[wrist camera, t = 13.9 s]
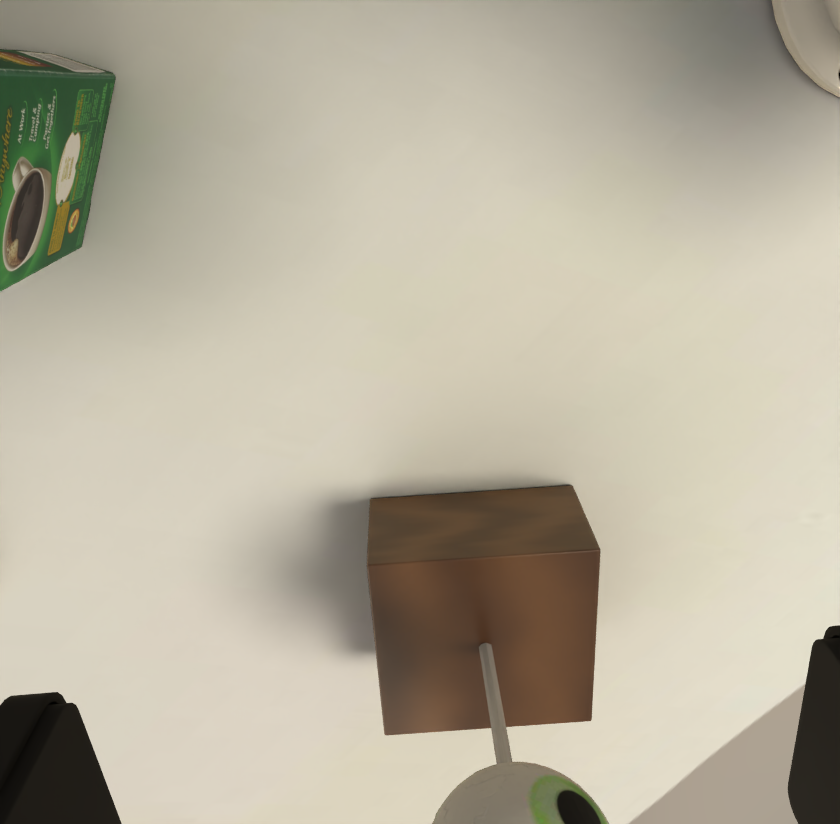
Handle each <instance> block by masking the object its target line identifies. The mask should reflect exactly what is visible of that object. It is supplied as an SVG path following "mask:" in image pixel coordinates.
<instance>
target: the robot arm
mask: <svg viewBox="0 0 840 824" xmlns="http://www.w3.org/2000/svg"><path fill="white" fill-rule="evenodd" d="M772 5H773V10H774V16H775V21H776V23H777V26H778V28H779V31H780V33H781V36H782V38H783V41H784V43H785V46H786V48H787V49H788V51H789V52H790V54H791V55H792V57H793V58H794V60H795V61H796V63H797V64H798V66H799V67H800V69H801V70H802V71H803V72H804V73H805V74H807V75H808V76H809V77H810V78H811V79H812V80H813V81H814V82H815V83H816V84H817V85H819V86H820V87H821V88H823V89H825V90H827V91H828V92H830V93H832V94H834V95H836V96H838V97H839V98H840V77H839V75H838V73H839V70H840V0H772ZM788 795H789V800H790V804H791V807H792V810H793V813H794V815H795V818H796V819H797V822H798V824H840V626H831V627H829V628H828V629H827V630H826V632H825V635H824V638H823V639H819V640H816V641H815V642H814V643H813V646H812V651H811V656H810V662H809V668H808V674H807V679H806V685H805V691H804V696H803V702H802V708H801V713H800V719H799V725H798V731H797V736H796V742H795V748H794V753H793V760H792V765H791V771H790V776H789V782H788ZM0 824H121V821H120V818H119V816H118V813H117V810H116V808H115V805H114V802H113V800H112V797H111V795H110V792H109V789H108V787H107V784H106V781H105V779H104V776H103V773H102V771H101V768H100V765H99V763H98V760H97V757H96V755H95V752H94V750H93V747H92V744H91V742H90V739H89V736H88V734H87V731H86V728H85V726H84V723H83V720H82V718H81V715H80V713H79V710H78V708H77V706H76V705H75V704H73V703H66V701H65V700H64V698H63V696H62V695H61V694H59V693H58V692H52V693H41V694H29V695H17V696H10V697H9V698H7V699H5V700H4V702H3V703H2V704H1V705H0Z"/></svg>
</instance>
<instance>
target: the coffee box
mask: <svg viewBox="0 0 840 824" xmlns="http://www.w3.org/2000/svg"><path fill="white" fill-rule="evenodd" d="M114 83H115V75H114V74H113V73H111V72H108V71H105V70H102V69H98V68H95V67H92V66H89V65H86V64H83V63H80V62H77V61H73V60H70V59H67V58H64V57H61V56H58V55H54V54H48V53H38V52H28V51H19V50H4V49H0V291H2V290H4V289H6V288H8V287H10V286H11V285H13V284H15V283H17V282H19V281H20V280H22V279H24V278H26V277H27V276H29V275H31V274H33V273H35V272H37V271H39V270H40V269H42V268H44V267H46V266H48V265H50V264H51V263H53V262H55V261H57V260H59V259H60V258H62V257H64V256H66V255H68V254H70V253H71V252H73V251H75V250H77V249H79V248H81V247H82V242H83V237H84V232H85V227H86V223H87V220H88V215H89V211H90V205H91V196H92V191H93V185H94V180H95V176H96V172H97V166H98V162H99V158H100V152H101V148H102V143H103V137H104V133H105V128H106V123H107V118H108V114H109V108H110V103H111V98H112V93H113V88H114Z"/></svg>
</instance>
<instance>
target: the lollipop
mask: <svg viewBox="0 0 840 824" xmlns="http://www.w3.org/2000/svg"><path fill="white" fill-rule="evenodd" d="M479 651H480V658H481V664H482V671H483V677H484V684H485V690H486V697H487V703H488V709H489V716H490V722H491V729H492V736H493V742H494V749H495V755H496V762H497V764H496V765H492V766H490V767H487V768H484V769H482V770H479V771H477V772H475V773H474V774H473V775H471V776H470V777H468V778H467V779H466V780H464V781H463V782H462V783H460V784H459V785H458V786H457V787H456V788H455V789H454V790H453V791H452V792H451V793H450V795H449V796H448V797H447V799H446V800H445V801H444V803H443V804H442V806H441V807H440V808H439V810H438V812H437V813H436V816H435V819H434V821H433V823H432V824H609V823H608V821H607V819H606V817H605V816H604V814H603V813H602V811H601V810H600V808H599V807H598V805H597V804H596V803H595V802H594V800H593V799H592V798H591V797H590V796H589V795H588V794H587V793H586V792H585V791H584V790H583V789H582V788H581V787H580V786H579V785H578V784H576V783H575V782H574V781H572V780H571V779H570V778H568V777H566V776H565V775H563V774H561V773H559V772H557V771H555V770H553V769H550V768H548V767H545V766H541V765H538V764H533V763H526V762H512V758H511V752H510V746H509V741H508V735H507V730H506V724H505V719H504V713H503V707H502V702H501V696H500V691H499V685H498V679H497V674H496V668H495V663H494V657H493V651H492V646H491V644H488V643H483V644H481V645H480V647H479Z"/></svg>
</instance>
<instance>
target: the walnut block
mask: <svg viewBox="0 0 840 824" xmlns="http://www.w3.org/2000/svg"><path fill="white" fill-rule="evenodd" d="M599 568H600V548H599V545H598V543H597V541H596V538H595V536H594V534H593V532H592V529H591V527H590V525H589V522H588V520H587V518H586V515H585V513H584V511H583V508H582V506H581V504H580V502H579V499H578V497H577V495H576V492H575V490H574V488H573V486H572V485H570V486H555V487H541V488H526V489H511V490H496V491H481V492H467V493H452V494H437V495H422V496H407V497H392V498H378V499H370V508H369V529H368V550H367V573H368V582H369V592H370V601H371V611H372V620H373V630H374V639H375V649H376V658H377V668H378V677H379V687H380V696H381V706H382V715H383V725H384V734H385V735H398V734H412V733H427V732H441V731H455V730H469V729H483V728H491V722H490V716H489V709H488V703H487V697H486V690H485V684H484V677H483V671H482V664H481V658H480V651H479V647H480V645H481V644H483V643H488V644H491V646H492V651H493V657H494V663H495V668H496V674H497V679H498V685H499V691H500V696H501V702H502V707H503V713H504V719H505V724H506V727H512V726H526V725H540V724H555V723H569V722H583V721H591V719H592V701H593V682H594V663H595V644H596V625H597V606H598V587H599Z"/></svg>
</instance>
